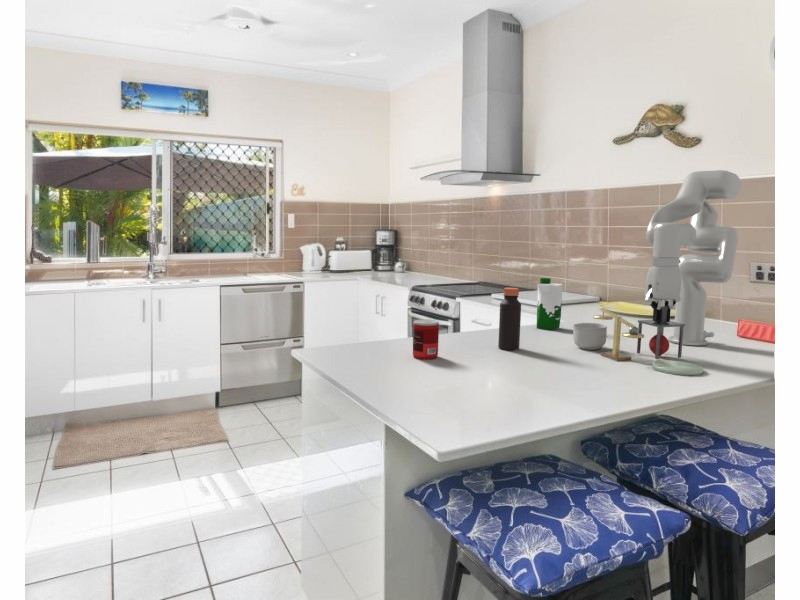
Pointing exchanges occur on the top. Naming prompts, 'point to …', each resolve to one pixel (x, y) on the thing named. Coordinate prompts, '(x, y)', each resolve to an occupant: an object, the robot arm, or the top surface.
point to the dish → (677, 367)
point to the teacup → (589, 335)
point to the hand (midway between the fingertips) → (661, 321)
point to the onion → (663, 344)
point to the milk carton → (549, 304)
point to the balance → (618, 335)
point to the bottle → (509, 320)
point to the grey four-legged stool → (660, 329)
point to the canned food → (425, 339)
